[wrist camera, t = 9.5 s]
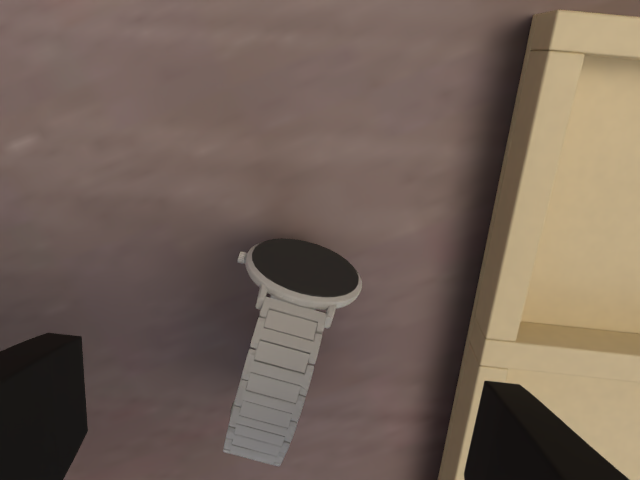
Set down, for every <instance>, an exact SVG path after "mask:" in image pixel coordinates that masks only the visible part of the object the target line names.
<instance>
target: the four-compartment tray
mask: <svg viewBox="0 0 640 480" xmlns="http://www.w3.org/2000/svg"><path fill="white" fill-rule="evenodd" d="M484 381H494V382H503V383H512V384H520V385H521V386H522V387H524V388H525V389H526V390H527V391H529V392H530V393H531V394H532V395H533V396H535V397H536V398H537V399H538V400H539V401H540V402H542V403H543V404H544V405H545V406H546V407H547V408H548V409H549V410H551V411H552V412H553V413H554V414H555V415H556V416H557V417H558V418H560V419H561V420H562V421H563V422H564V423H565V424H566V425H567V426H568V427H570V428H571V429H572V430H573V431H574V432H575V433H576V434H577V435H579V436H580V437H581V438H582V439H583V440H584V441H585V442H586V443H588V444H589V445H590V446H591V447H592V448H593V449H594V450H596V451H597V452H598V453H599V454H600V455H601V456H602V457H604V458H605V459H606V460H607V461H608V462H609V463H611V464H612V465H613V466H614V467H615V468H616V469H618V470H619V471H620V472H621V473H622V474H624V475H625V476H626V477H627V478H628V479H630V480H640V17H635V16H624V15H613V14H602V13H591V12H580V11H569V10H555V11H550V12H545V13H540V14H535V15H533V19H532V23H531V28H530V33H529V38H528V43H527V48H526V53H525V58H524V62H523V67H522V72H521V77H520V82H519V87H518V92H517V96H516V101H515V106H514V111H513V116H512V121H511V126H510V131H509V135H508V140H507V145H506V150H505V155H504V160H503V165H502V169H501V174H500V179H499V184H498V189H497V194H496V199H495V203H494V208H493V213H492V218H491V223H490V228H489V233H488V238H487V242H486V247H485V252H484V257H483V262H482V267H481V272H480V276H479V281H478V286H477V291H476V296H475V301H474V306H473V310H472V315H471V320H470V325H469V330H468V335H467V340H466V345H465V349H464V354H463V359H462V364H461V369H460V374H459V379H458V383H457V388H456V393H455V398H454V403H453V408H452V413H451V417H450V422H449V427H448V432H447V437H446V442H445V447H444V452H443V456H442V461H441V466H440V471H439V476H438V480H465V479H464V470H465V466H466V461H467V457H468V452H469V448H470V443H471V439H472V434H473V430H474V425H475V421H476V416H477V412H478V408H479V403H480V399H481V394H482V390H483V385H484Z"/></svg>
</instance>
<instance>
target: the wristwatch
mask: <svg viewBox="0 0 640 480" xmlns="http://www.w3.org/2000/svg"><path fill="white" fill-rule="evenodd" d="M238 262H239V263H242V264H243V263H245V265H246V268H247V272H248V274H249V276H250V278H251V279H252V280H253V281H254V283H255V284H256V285H257V286H258V287H260V289H259V294H258V298H257V303H256V307H255V308H256V309H260V310H261V311H260V316H259V318H258V321H257V324H256V327H255V331H254V334H253V338H252V341H251V345H250V347H251V348H255V349H256V350H253V349H249V352H248V355H247V358H246V362H245V366H244V369H243V373H242V377H241V381H240V384H239V387H238V391H237V395H236V399H235V401H234V403H233V405H232V408H231V418H230V422H229V426H228V431H227V435H226V440H225V444H224V450H223V452H226V453H230V454H233V455H237V456H241V457H245V458H248V459H252V460H256V461H260V462H263V463H267V464H271V465H275V466H280V464H281V463H282V461H283V459H284V456H285V454H286V452H287V450H288V448H289V445H290V442H291V440H292V438H293V435H294V432H295V429H296V426H297V422H298V420H299V417H300V414H301V411H302V408H303V405H304V401H305V397H306V394H307V391H308V388H309V385H310V381H311V378H312V374H313V370H314V366H312V365H308V364H307V363H309V364H313V365H315V362H316V359H317V355H318V351H319V347H320V343H321V339H322V332H323V331H324V327H325V328H330V325H331V323H332V320H333V316H334V313H335V310H336V308H341V307H344V306H347V305H349V304H350V303H352V302H353V301H354V300H355V299H357V297H358V296H359V294H360V292H361V290H362V281H361V277H360V275H359V274H358V272H357V271H356V270H355V268H354V267H353V266H352V265H351V264H350V263H349V262H348V261H347V260H346V259H345V258H343V257H342V256H340V255H338V254H337V253H335V252H333V251H331V250H329V249H327V248H324V247H322V246H319V245H317V244H313V243H310V242H306V241H301V240H295V239H272V240H268V241H264V242H261V243H259V244H257V245H255V246H253V247H252V248H251V249H250V250H249V252H248V253H245V252H240V254H239V257H238ZM267 293H268V294H270V295H271V297H270V298H269V297H266V294H267ZM315 309H321V310H326V313H323V312H319V311H316V310H315Z"/></svg>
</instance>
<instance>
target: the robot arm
mask: <svg viewBox="0 0 640 480" xmlns="http://www.w3.org/2000/svg"><path fill="white" fill-rule="evenodd" d="M87 431H88V428H87V413H86V398H85V383H84V367H83V352H82V337H81V336H72V335H63V334H54V333H46V334H43V335H40V336H37V337H35V338H32V339H29V340H27V341H24V342H22V343H19V344H17V345H14V346H12V347H10V348H7V349H5V350H3V351H0V480H63V478H64V477H65V475H66V473H67V471H68V469H69V467H70V465H71V463H72V462H73V460H74V458H75V456H76V454H77V452H78V450H79V448H80V446H81V444H82V442H83V439H84V437H85V435H86V433H87ZM464 479H465V480H630V479H628V478H627V477H626V476H625V475H624V474H622V473H621V472H620V471H619V470H618V469H616V468H615V467H614V466H613V465H612V464H611V463H609V462H608V461H607V460H606V459H605V458H604V457H602V456H601V455H600V454H599V453H598V452H597V451H596V450H594V449H593V448H592V447H591V446H590V445H589V444H588V443H586V442H585V441H584V440H583V439H582V438H581V437H580V436H579V435H577V434H576V433H575V432H574V431H573V430H572V429H571V428H570V427H568V426H567V425H566V424H565V423H564V422H563V421H562V420H561V419H560V418H558V417H557V416H556V415H555V414H554V413H553V412H552V411H551V410H549V409H548V408H547V407H546V406H545V405H544V404H543V403H542V402H540V401H539V400H538V399H537V398H536V397H535V396H533V395H532V394H531V393H530V392H529V391H527V390H526V389H525V388H524V387H522V386H521V385H520V384H512V383H503V382H494V381H484V385H483V390H482V394H481V399H480V403H479V408H478V412H477V416H476V421H475V425H474V430H473V434H472V439H471V443H470V448H469V452H468V457H467V461H466V466H465V470H464Z"/></svg>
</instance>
